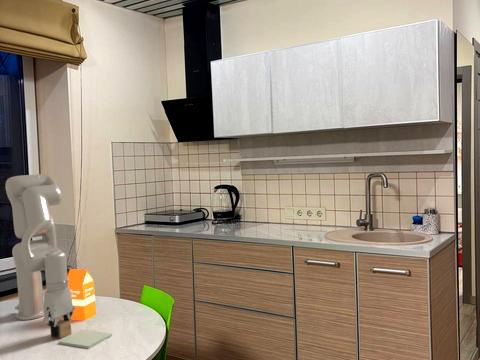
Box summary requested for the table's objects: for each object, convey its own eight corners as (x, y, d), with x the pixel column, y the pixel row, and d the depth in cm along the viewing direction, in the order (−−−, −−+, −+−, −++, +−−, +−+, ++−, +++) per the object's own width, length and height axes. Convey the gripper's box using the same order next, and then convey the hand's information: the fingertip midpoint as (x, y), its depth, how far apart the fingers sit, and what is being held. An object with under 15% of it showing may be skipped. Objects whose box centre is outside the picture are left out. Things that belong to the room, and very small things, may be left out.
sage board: (58, 343, 173) (58, 341, 173) (83, 331, 184) (82, 329, 184) (88, 348, 167) (88, 346, 167) (112, 335, 178) (112, 333, 178)
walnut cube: (51, 337, 180) (50, 324, 179) (61, 332, 184) (60, 319, 184) (61, 339, 178) (60, 325, 177) (71, 334, 182) (70, 321, 182)
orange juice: (85, 320, 196) (81, 272, 195) (66, 319, 199) (63, 271, 198) (96, 314, 204) (93, 267, 202) (79, 313, 207) (75, 266, 205)
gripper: (67, 278, 189) (70, 324, 190) (31, 291, 174) (35, 341, 175) (81, 280, 186) (85, 326, 187) (46, 292, 170) (50, 343, 172)
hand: (61, 333), depth 181 cm, fingers closed on walnut cube, 5 cm apart
